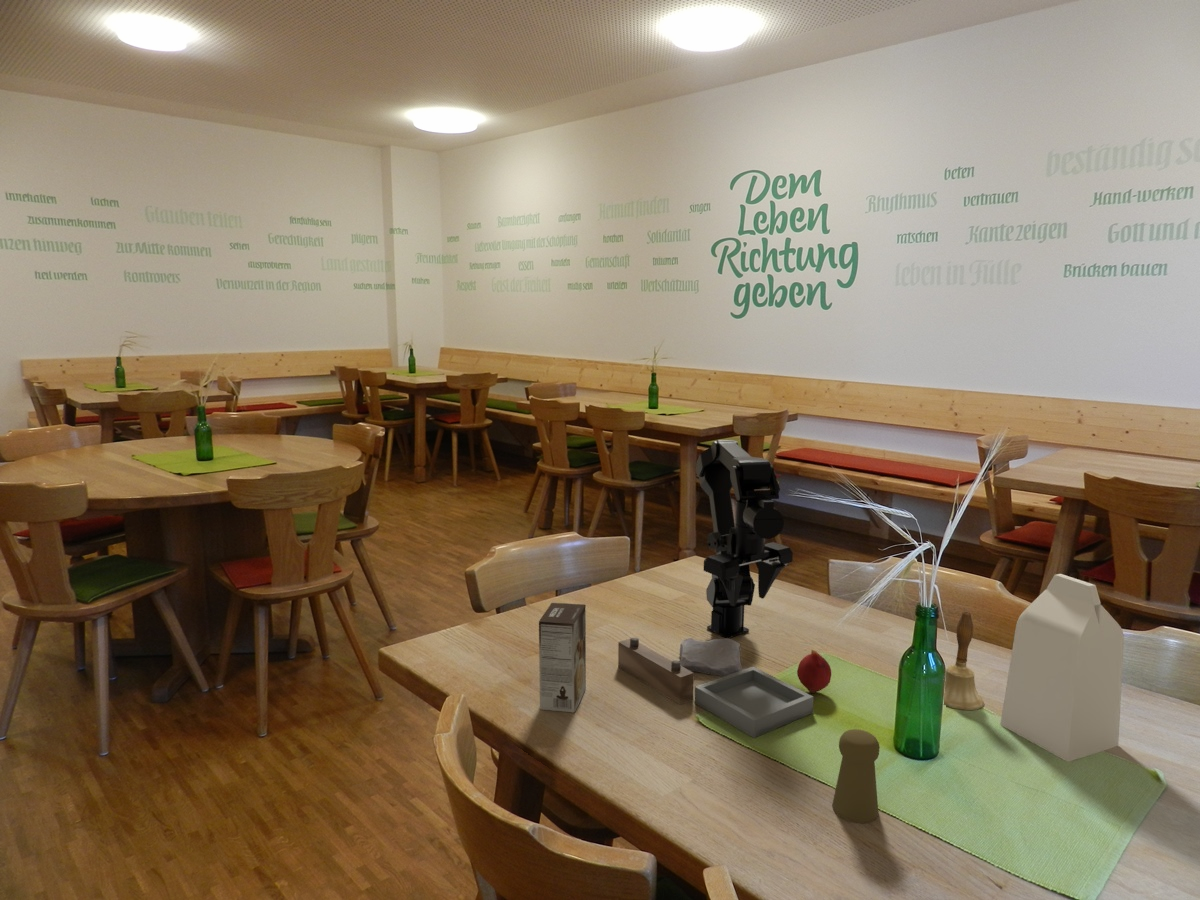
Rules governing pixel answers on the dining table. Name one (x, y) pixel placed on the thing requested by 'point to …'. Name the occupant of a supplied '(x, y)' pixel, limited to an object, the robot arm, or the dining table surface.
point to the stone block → (711, 656)
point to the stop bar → (656, 670)
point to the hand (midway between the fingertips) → (747, 601)
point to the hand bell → (962, 672)
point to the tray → (753, 701)
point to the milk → (1066, 672)
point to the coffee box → (562, 656)
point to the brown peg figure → (857, 777)
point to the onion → (814, 672)
